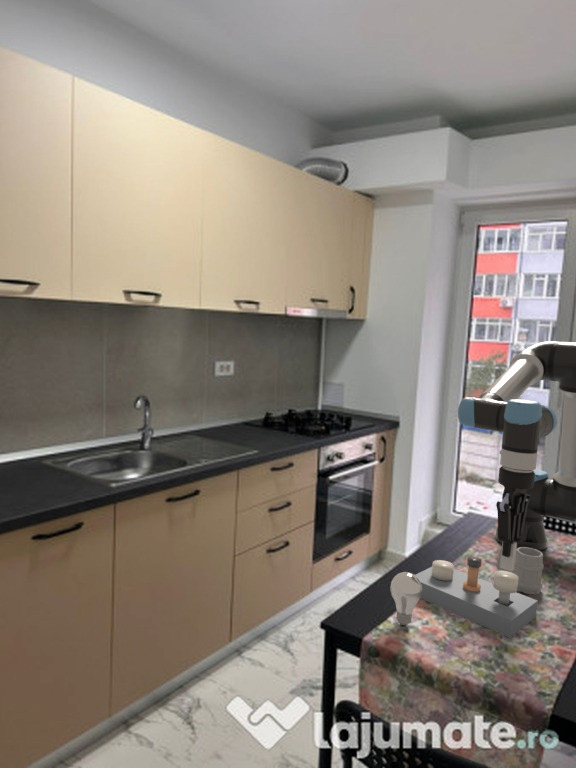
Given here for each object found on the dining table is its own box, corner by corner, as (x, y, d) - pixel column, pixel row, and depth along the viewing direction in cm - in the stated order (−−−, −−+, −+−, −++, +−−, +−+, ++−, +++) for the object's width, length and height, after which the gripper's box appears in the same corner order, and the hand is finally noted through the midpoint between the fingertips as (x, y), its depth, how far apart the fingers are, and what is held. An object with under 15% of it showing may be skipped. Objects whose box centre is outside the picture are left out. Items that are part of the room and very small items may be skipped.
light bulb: (384, 616, 130) (388, 566, 128) (414, 617, 130) (418, 566, 129) (391, 633, 123) (395, 580, 121) (423, 633, 123) (427, 580, 122)
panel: (437, 577, 152) (439, 563, 151) (536, 616, 133) (537, 600, 133) (408, 592, 142) (409, 577, 141) (509, 637, 124) (511, 620, 123)
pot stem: (468, 583, 140) (470, 554, 139) (483, 589, 137) (486, 560, 136) (459, 588, 137) (462, 558, 136) (475, 594, 134) (478, 564, 134)
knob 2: (497, 596, 135) (500, 568, 134) (519, 605, 132) (522, 576, 131) (487, 603, 132) (490, 574, 131) (509, 612, 128) (512, 582, 127)
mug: (537, 598, 143) (542, 552, 142) (490, 583, 150) (494, 539, 149) (545, 587, 149) (550, 543, 148) (499, 574, 156) (503, 531, 155)
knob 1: (437, 584, 147) (439, 558, 146) (455, 591, 143) (457, 565, 142) (426, 590, 143) (428, 563, 142) (444, 598, 140) (447, 570, 139)
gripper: (513, 461, 135) (503, 556, 138) (488, 468, 126) (478, 570, 129) (545, 468, 130) (534, 566, 133) (521, 476, 121) (510, 582, 123)
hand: (506, 568), depth 131 cm, fingers closed
